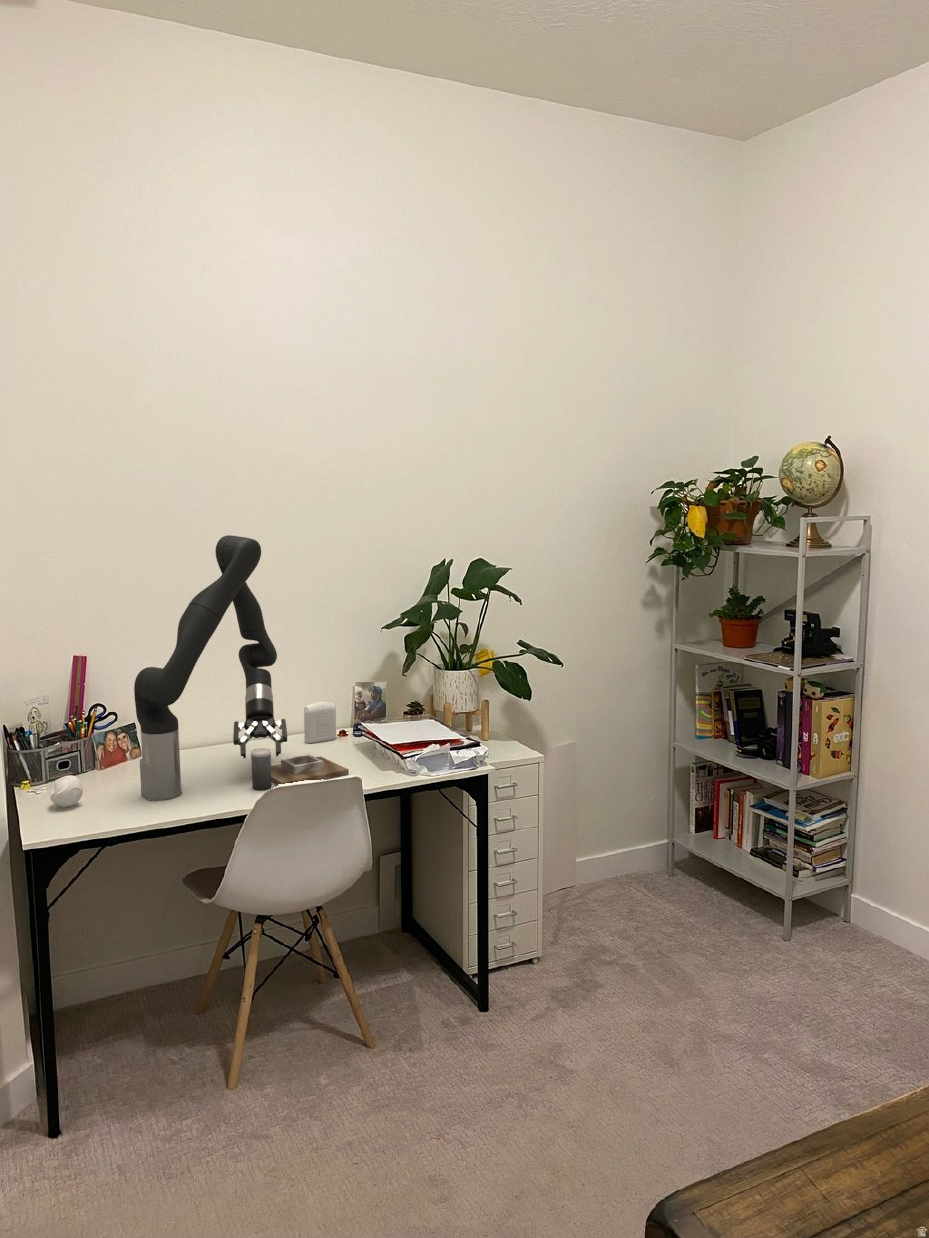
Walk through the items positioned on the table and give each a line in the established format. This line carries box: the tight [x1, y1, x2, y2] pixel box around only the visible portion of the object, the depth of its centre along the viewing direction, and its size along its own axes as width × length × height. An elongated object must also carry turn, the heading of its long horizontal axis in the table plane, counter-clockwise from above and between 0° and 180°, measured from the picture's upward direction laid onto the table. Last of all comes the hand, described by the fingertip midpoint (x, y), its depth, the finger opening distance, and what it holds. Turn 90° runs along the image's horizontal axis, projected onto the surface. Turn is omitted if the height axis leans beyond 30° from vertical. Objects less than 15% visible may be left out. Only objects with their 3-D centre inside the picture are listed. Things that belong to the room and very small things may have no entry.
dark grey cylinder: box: [250, 747, 273, 792], centre depth 252 cm, size 5×5×10 cm
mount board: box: [271, 753, 350, 786], centre depth 264 cm, size 20×16×4 cm
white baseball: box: [49, 775, 84, 808], centre depth 238 cm, size 8×8×8 cm
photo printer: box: [303, 701, 337, 744], centre depth 298 cm, size 10×4×12 cm, turn 123°
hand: (261, 755), depth 254 cm, fingers open, 8 cm apart
